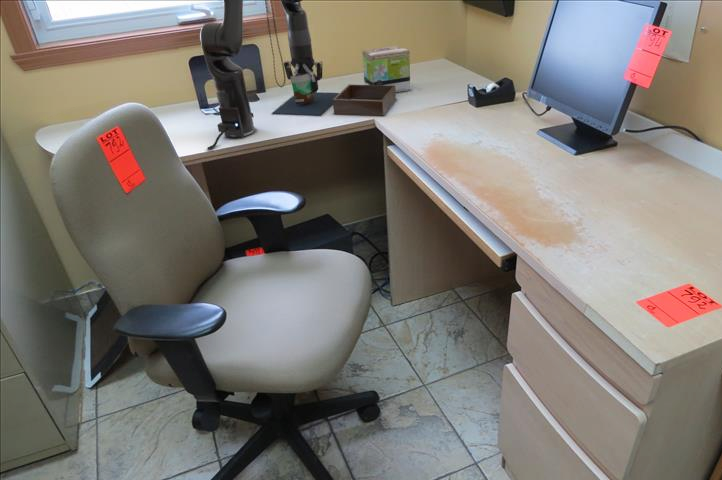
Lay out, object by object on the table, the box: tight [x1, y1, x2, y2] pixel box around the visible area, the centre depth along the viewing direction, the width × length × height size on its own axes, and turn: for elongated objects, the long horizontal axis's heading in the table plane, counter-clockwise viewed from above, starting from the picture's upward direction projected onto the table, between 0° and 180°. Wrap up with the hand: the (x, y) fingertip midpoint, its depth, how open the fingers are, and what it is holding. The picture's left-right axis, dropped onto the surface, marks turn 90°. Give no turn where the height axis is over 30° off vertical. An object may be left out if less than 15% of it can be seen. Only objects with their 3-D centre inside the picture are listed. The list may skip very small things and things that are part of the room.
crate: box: [332, 83, 397, 117], centre depth 195 cm, size 18×18×5 cm
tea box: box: [362, 45, 411, 93], centre depth 206 cm, size 15×10×15 cm, turn 114°
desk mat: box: [271, 91, 340, 117], centre depth 202 cm, size 24×18×1 cm
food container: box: [290, 71, 314, 104], centre depth 198 cm, size 12×6×10 cm, turn 169°
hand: (306, 91), depth 199 cm, fingers closed on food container, 6 cm apart
